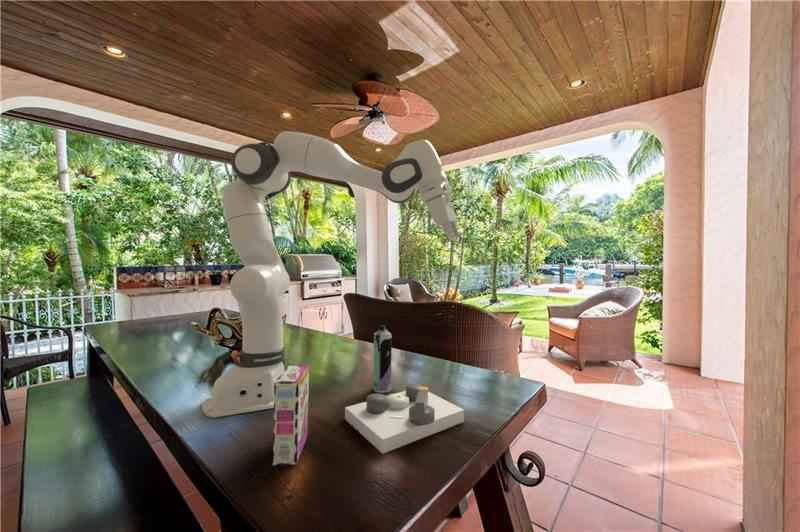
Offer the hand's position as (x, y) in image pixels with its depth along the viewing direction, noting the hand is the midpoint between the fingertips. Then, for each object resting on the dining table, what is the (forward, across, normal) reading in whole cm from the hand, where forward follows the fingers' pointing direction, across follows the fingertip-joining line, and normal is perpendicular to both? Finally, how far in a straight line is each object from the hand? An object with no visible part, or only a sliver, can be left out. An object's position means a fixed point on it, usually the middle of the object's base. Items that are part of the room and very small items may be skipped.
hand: (454, 238), depth 95 cm
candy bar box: (+29, +43, -42) cm, 67 cm away
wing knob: (+36, +27, -19) cm, 49 cm away
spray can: (+36, +6, -38) cm, 52 cm away
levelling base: (+38, +23, -25) cm, 51 cm away
